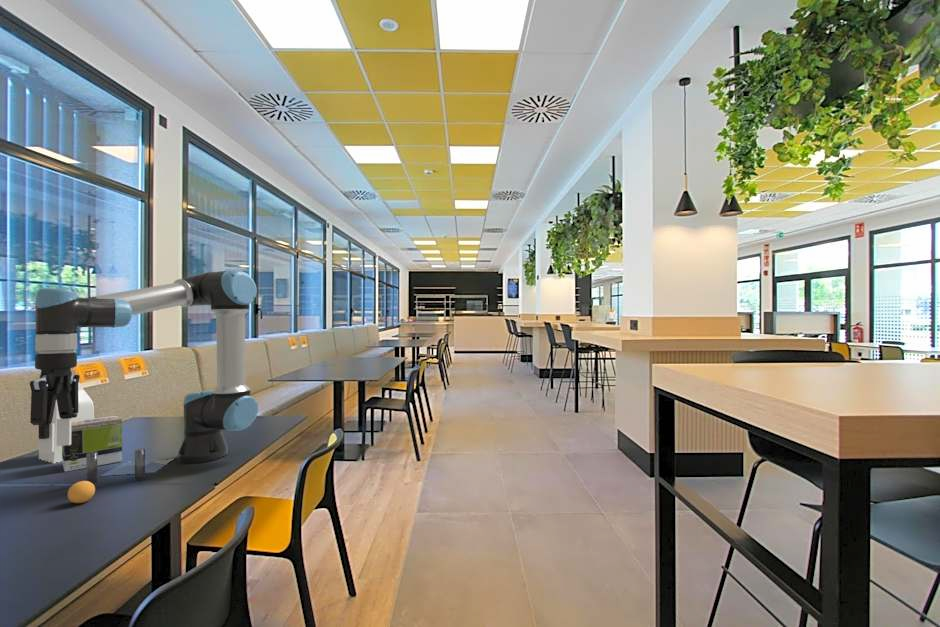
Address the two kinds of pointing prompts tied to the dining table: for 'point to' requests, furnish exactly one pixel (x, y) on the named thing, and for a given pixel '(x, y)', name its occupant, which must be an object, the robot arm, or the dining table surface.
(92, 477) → the outer post
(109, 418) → the tea box
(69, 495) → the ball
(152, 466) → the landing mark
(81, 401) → the milk
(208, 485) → the dining table surface
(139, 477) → the inner post
